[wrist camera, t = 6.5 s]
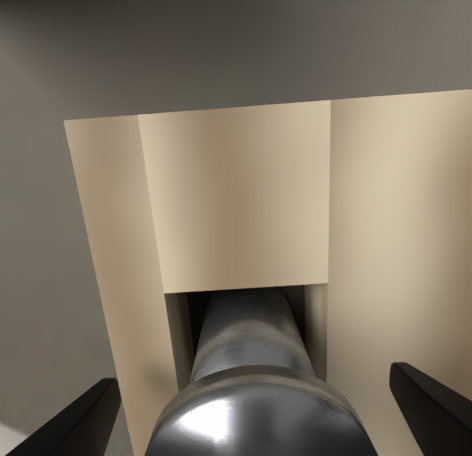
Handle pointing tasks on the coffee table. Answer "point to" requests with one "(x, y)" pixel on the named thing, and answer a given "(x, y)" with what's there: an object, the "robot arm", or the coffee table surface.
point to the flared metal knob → (256, 389)
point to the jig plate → (287, 239)
